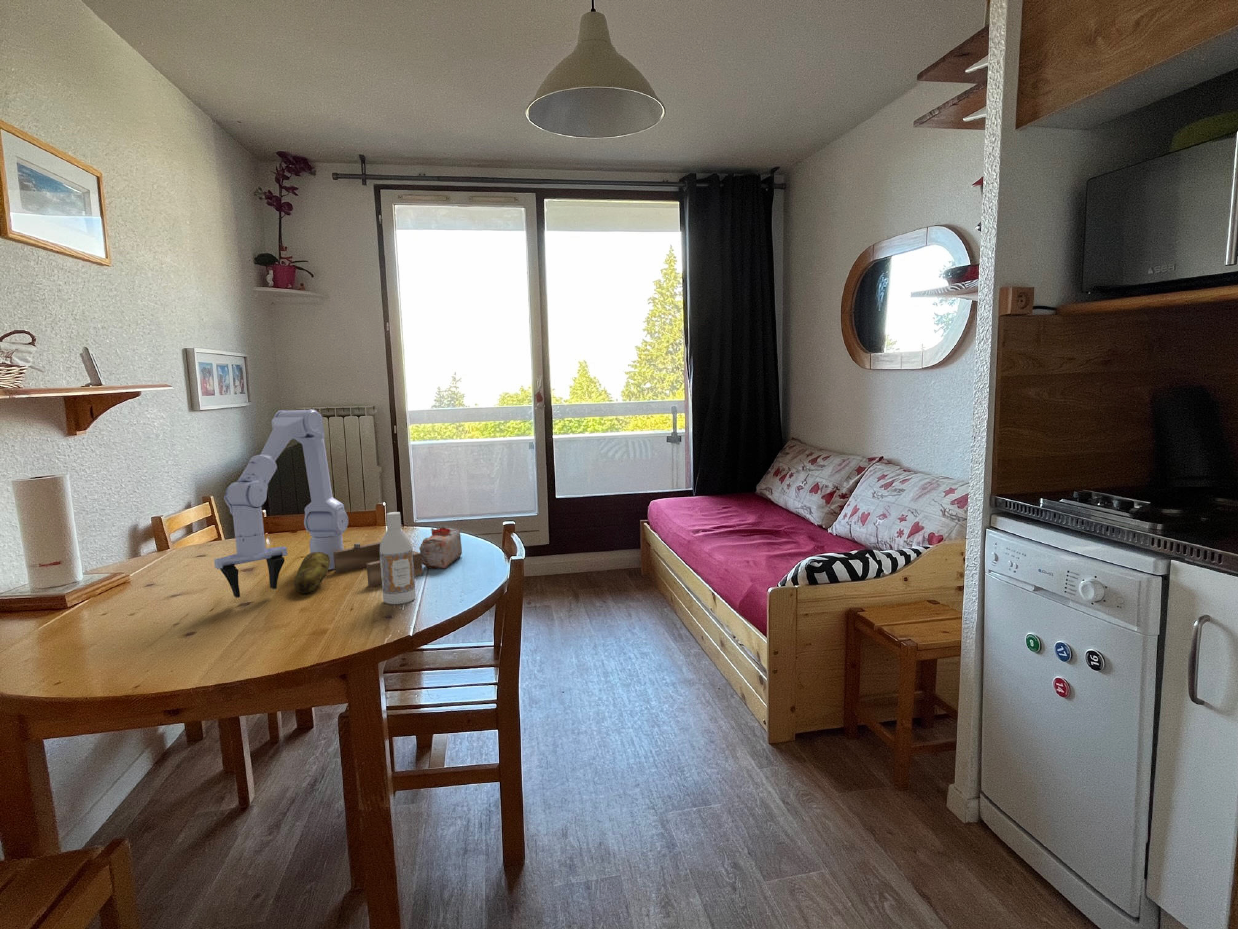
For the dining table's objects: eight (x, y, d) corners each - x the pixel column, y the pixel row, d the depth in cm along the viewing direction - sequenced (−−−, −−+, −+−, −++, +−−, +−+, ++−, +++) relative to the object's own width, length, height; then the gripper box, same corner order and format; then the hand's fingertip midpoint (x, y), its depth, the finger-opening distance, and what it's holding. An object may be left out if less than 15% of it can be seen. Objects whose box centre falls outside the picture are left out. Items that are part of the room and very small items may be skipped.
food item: (448, 570, 169) (445, 533, 168) (418, 570, 170) (415, 533, 169) (464, 556, 182) (462, 522, 181) (437, 556, 183) (435, 522, 182)
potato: (279, 596, 152) (276, 562, 151) (314, 579, 164) (311, 548, 163) (311, 596, 150) (308, 563, 149) (343, 580, 163) (341, 549, 162)
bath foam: (387, 607, 141) (380, 517, 139) (380, 599, 147) (373, 512, 144) (419, 600, 145) (413, 513, 142) (410, 593, 151) (404, 508, 148)
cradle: (335, 571, 170) (332, 547, 170) (383, 560, 180) (381, 537, 179) (372, 587, 156) (369, 560, 155) (422, 574, 166) (420, 549, 165)
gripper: (218, 542, 138) (225, 604, 140) (290, 530, 149) (295, 587, 150) (209, 538, 143) (215, 597, 145) (278, 526, 154) (284, 582, 155)
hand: (255, 592), depth 148 cm, fingers open, 7 cm apart
